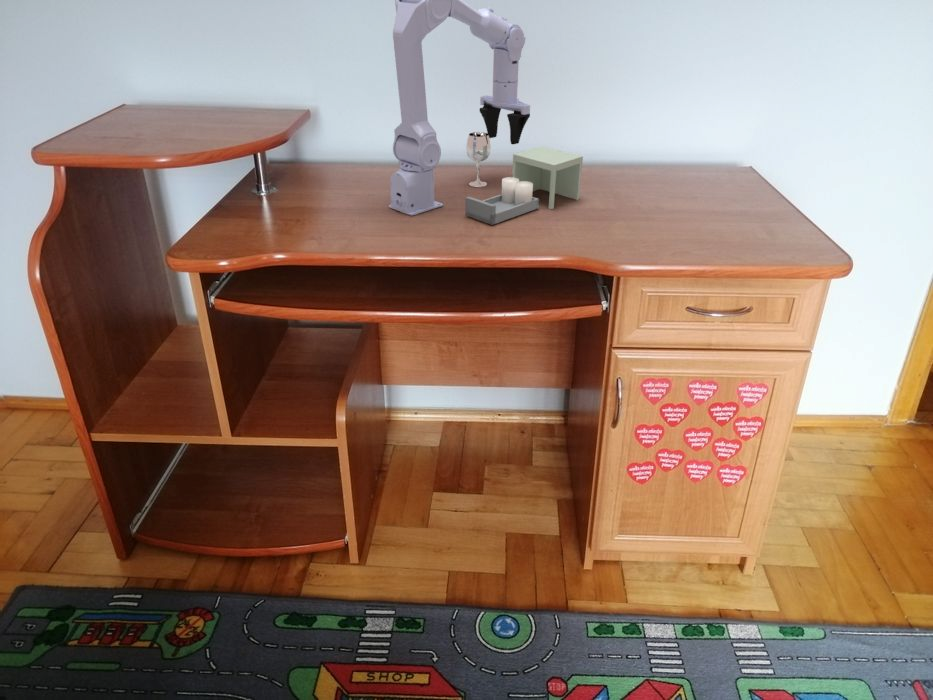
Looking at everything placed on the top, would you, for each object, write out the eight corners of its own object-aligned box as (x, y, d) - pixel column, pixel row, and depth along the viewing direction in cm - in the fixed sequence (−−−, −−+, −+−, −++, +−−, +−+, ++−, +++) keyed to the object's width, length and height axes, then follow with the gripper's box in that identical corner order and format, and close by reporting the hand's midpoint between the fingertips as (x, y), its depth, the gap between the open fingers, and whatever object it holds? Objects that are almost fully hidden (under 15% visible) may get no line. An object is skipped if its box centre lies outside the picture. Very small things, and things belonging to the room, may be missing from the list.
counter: (551, 209, 156) (554, 165, 151) (511, 196, 163) (513, 154, 158) (579, 199, 162) (582, 156, 157) (539, 187, 169) (541, 146, 164)
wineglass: (489, 188, 169) (491, 137, 163) (466, 187, 169) (466, 137, 163) (489, 180, 174) (490, 131, 168) (466, 180, 174) (466, 131, 168)
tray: (492, 224, 147) (492, 198, 144) (465, 215, 152) (465, 189, 149) (538, 208, 156) (540, 182, 153) (512, 199, 161) (513, 175, 158)
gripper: (540, 83, 159) (537, 143, 166) (495, 74, 168) (494, 132, 175) (518, 86, 155) (516, 148, 162) (474, 77, 164) (473, 136, 171)
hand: (503, 140), depth 168 cm, fingers open, 7 cm apart
